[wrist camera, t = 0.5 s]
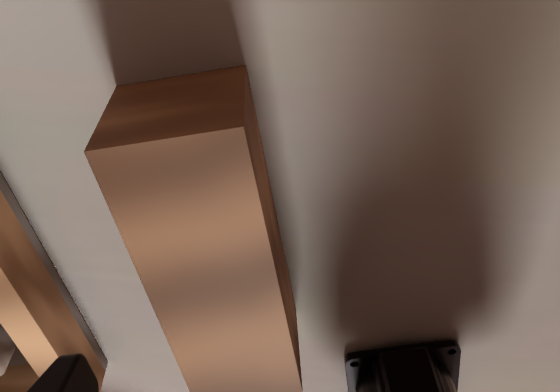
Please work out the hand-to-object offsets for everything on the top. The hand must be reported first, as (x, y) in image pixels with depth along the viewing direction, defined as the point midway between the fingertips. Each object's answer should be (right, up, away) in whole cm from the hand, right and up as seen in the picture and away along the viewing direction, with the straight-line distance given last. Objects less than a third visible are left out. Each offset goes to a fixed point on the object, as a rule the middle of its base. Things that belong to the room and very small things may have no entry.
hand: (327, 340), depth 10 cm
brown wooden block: (-4, +2, +15) cm, 15 cm away
